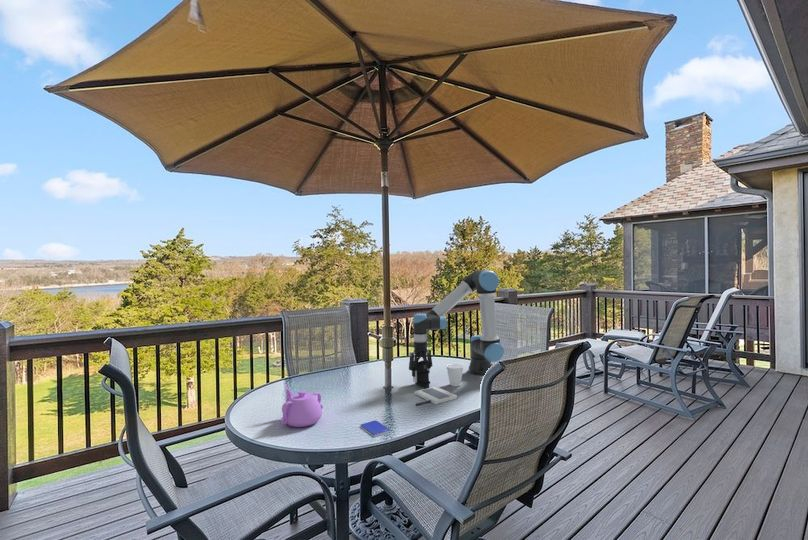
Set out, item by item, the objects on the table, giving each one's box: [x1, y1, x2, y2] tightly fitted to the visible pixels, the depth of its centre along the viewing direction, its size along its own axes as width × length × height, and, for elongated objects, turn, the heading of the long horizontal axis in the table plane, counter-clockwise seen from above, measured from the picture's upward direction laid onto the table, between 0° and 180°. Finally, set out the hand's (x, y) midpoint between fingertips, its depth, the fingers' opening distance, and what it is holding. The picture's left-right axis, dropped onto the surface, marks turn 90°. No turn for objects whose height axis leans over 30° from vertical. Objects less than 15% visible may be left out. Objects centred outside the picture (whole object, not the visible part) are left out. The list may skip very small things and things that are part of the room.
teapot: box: [280, 386, 324, 428], centre depth 179 cm, size 22×22×14 cm
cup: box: [446, 363, 465, 387], centre depth 225 cm, size 10×10×11 cm
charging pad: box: [414, 386, 458, 406], centre depth 205 cm, size 23×18×2 cm
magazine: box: [414, 359, 431, 389], centre depth 225 cm, size 4×13×15 cm, turn 29°
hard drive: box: [359, 419, 392, 438], centre depth 169 cm, size 2×8×12 cm
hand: (421, 380), depth 225 cm, fingers open, 8 cm apart
